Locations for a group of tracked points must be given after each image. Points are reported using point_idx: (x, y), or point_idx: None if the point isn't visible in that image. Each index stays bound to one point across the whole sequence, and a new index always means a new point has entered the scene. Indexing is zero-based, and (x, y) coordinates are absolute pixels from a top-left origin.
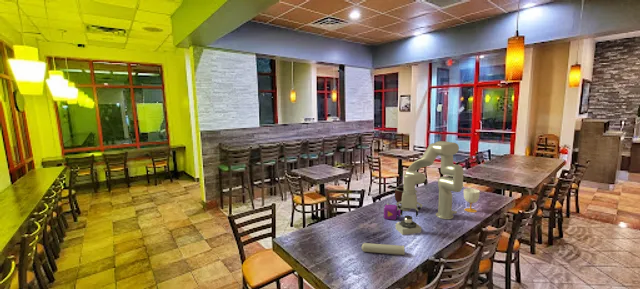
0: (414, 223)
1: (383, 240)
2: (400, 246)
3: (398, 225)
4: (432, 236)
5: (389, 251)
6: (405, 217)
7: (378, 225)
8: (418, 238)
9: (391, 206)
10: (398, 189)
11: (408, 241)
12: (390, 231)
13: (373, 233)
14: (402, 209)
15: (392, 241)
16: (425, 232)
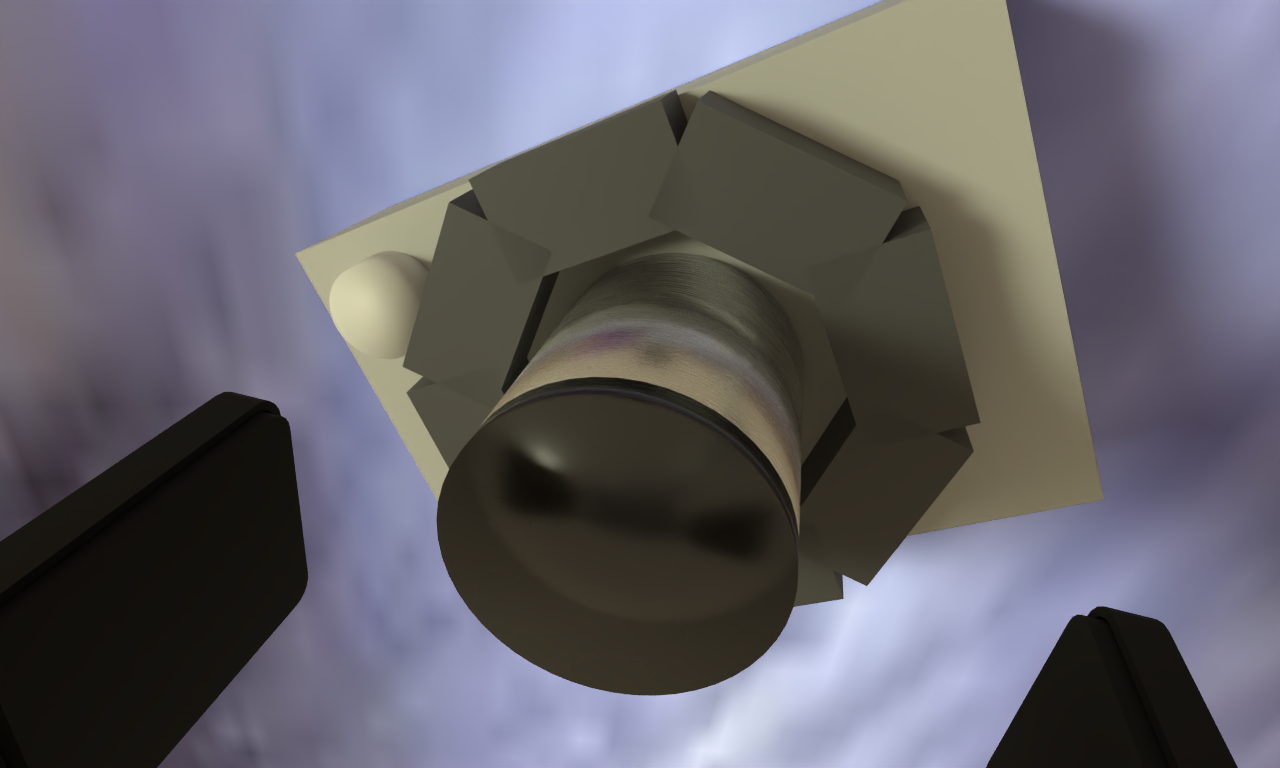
0: (899, 436)
1: (242, 672)
2: None
3: (390, 405)
4: (1269, 593)
5: None
6: (477, 610)
7: None
8: (861, 653)
9: None
10: None
11: (636, 727)
12: (295, 368)
13: (23, 457)
14: (21, 752)
15: (376, 706)
16: (1191, 393)
